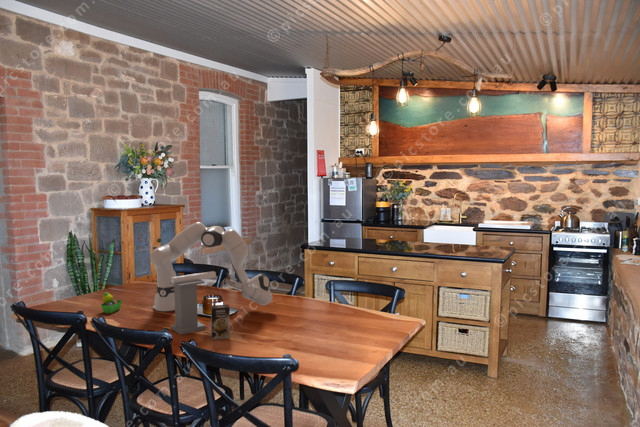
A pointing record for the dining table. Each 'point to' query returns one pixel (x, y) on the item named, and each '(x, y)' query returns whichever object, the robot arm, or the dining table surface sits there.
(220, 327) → the coffee box
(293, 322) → the dining table surface
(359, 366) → the dining table surface
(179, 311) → the shelf stand
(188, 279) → the beige wooden bar
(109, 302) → the fruit basket
